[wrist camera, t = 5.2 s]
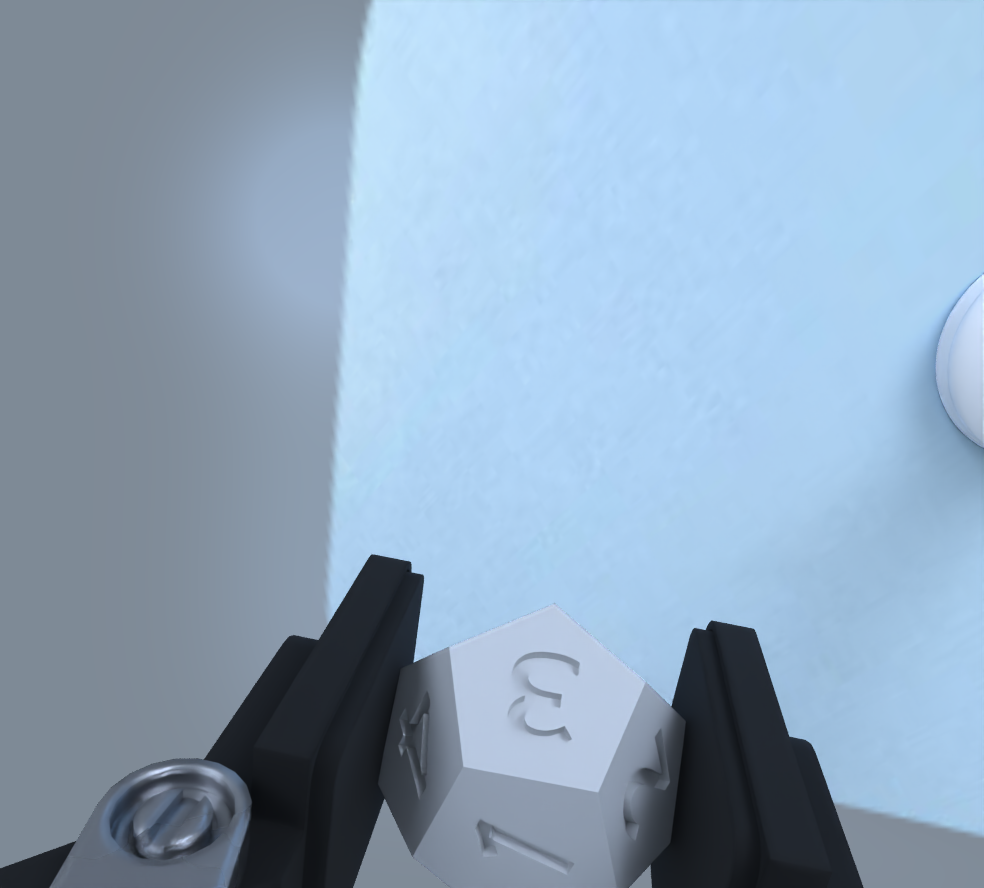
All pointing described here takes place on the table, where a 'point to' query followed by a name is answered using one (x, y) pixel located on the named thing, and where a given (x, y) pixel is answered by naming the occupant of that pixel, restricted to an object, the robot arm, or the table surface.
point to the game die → (531, 760)
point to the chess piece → (964, 363)
